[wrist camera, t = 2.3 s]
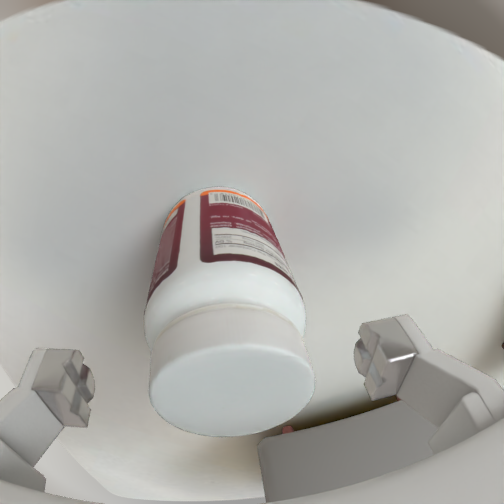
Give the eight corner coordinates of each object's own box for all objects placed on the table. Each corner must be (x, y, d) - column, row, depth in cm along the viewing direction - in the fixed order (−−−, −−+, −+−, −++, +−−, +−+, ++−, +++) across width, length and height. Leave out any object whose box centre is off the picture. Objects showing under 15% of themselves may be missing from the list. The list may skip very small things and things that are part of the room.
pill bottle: (196, 294, 16) (198, 455, 8) (143, 214, 13) (89, 375, 6) (286, 255, 15) (347, 409, 8) (244, 164, 13) (298, 296, 5)
